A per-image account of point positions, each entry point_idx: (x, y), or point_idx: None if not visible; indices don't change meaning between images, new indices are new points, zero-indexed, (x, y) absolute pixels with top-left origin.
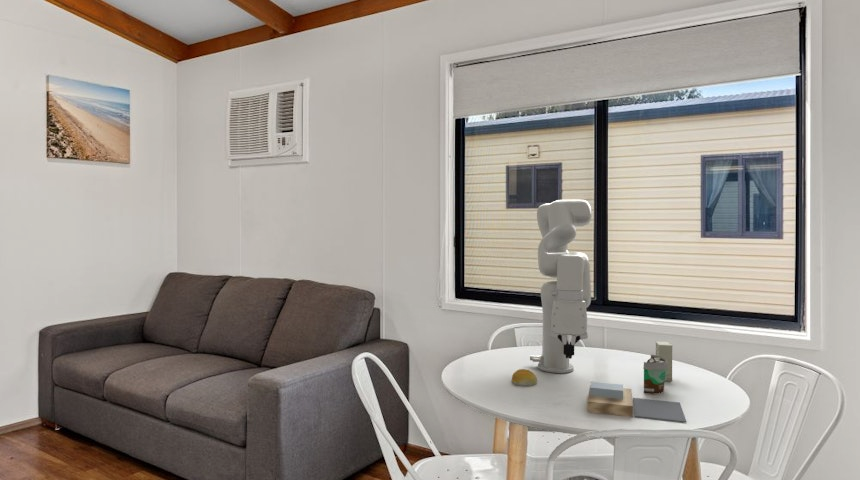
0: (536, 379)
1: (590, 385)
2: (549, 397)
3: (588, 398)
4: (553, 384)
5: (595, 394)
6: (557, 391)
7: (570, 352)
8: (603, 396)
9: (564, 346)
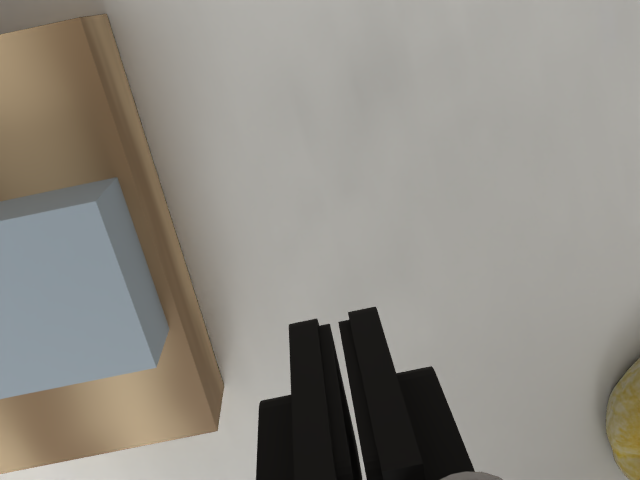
0: (617, 429)
1: (209, 420)
2: (459, 191)
3: (104, 104)
4: (493, 450)
5: (68, 190)
6: (437, 339)
7: (305, 377)
8: (8, 202)
9: (453, 466)
